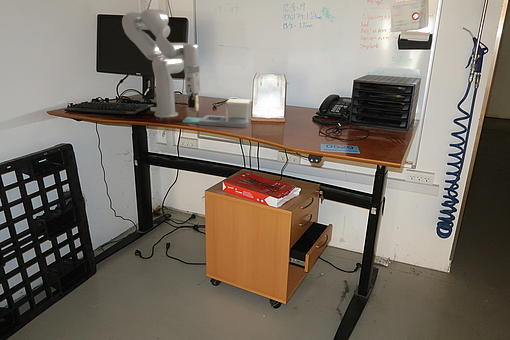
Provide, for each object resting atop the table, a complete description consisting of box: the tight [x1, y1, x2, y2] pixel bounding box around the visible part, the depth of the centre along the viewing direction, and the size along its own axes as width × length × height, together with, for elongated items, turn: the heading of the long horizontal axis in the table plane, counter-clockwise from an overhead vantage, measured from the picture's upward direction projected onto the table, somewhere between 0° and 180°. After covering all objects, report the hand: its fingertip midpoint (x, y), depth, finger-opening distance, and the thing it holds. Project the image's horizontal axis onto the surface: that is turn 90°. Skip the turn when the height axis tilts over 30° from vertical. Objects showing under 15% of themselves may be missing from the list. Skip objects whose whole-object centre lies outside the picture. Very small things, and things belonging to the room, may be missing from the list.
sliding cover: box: [225, 98, 252, 123], centre depth 192 cm, size 11×10×10 cm
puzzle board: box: [198, 114, 251, 129], centre depth 195 cm, size 24×14×2 cm, turn 82°
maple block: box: [186, 94, 200, 113], centre depth 194 cm, size 4×4×8 cm
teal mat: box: [181, 116, 203, 125], centre depth 198 cm, size 9×9×1 cm
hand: (193, 106), depth 195 cm, fingers closed on maple block, 4 cm apart
